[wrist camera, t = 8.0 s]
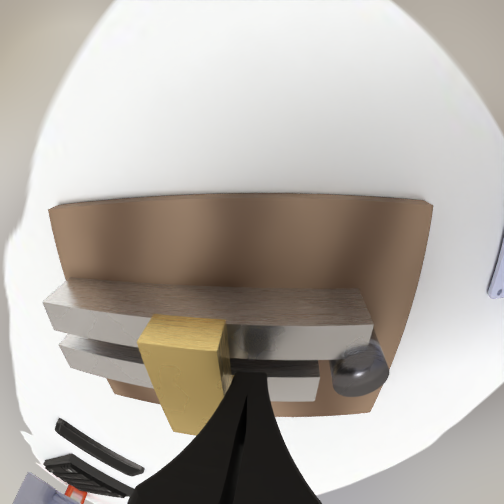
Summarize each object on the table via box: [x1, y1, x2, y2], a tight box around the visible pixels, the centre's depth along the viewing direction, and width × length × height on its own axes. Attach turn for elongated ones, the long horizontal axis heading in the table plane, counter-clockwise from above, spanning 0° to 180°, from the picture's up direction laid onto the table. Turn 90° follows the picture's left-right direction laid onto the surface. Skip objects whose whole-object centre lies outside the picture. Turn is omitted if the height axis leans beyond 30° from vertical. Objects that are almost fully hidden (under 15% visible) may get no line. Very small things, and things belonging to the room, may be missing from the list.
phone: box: [55, 418, 144, 476], centre depth 30 cm, size 8×1×15 cm
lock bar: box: [137, 314, 232, 436], centre depth 11 cm, size 3×6×2 cm, turn 2°
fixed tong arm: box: [43, 277, 389, 397], centre depth 14 cm, size 18×4×4 cm, turn 92°
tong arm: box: [59, 334, 320, 402], centre depth 14 cm, size 15×2×3 cm, turn 92°
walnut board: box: [48, 193, 433, 417], centre depth 16 cm, size 21×16×1 cm
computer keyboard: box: [43, 454, 134, 498], centre depth 44 cm, size 45×16×4 cm, turn 135°
